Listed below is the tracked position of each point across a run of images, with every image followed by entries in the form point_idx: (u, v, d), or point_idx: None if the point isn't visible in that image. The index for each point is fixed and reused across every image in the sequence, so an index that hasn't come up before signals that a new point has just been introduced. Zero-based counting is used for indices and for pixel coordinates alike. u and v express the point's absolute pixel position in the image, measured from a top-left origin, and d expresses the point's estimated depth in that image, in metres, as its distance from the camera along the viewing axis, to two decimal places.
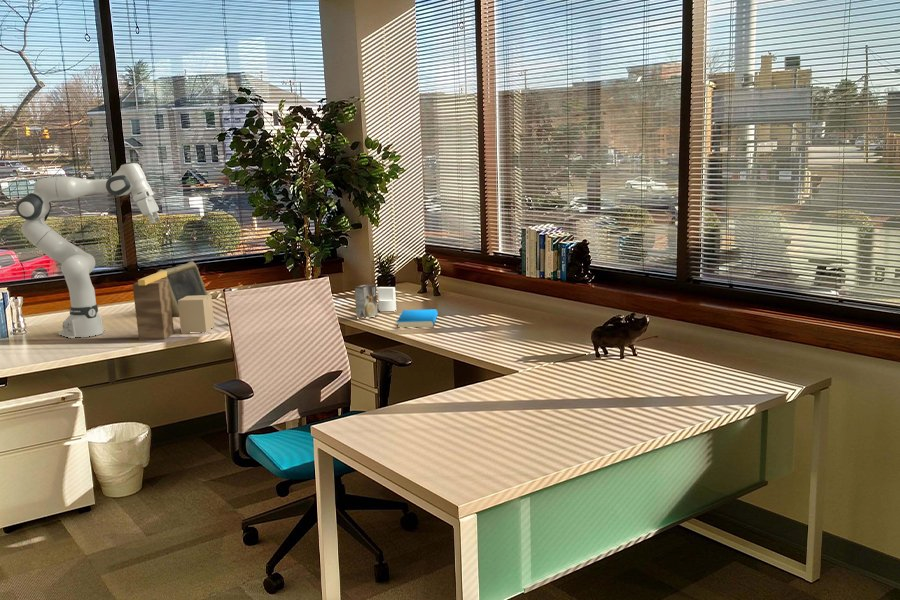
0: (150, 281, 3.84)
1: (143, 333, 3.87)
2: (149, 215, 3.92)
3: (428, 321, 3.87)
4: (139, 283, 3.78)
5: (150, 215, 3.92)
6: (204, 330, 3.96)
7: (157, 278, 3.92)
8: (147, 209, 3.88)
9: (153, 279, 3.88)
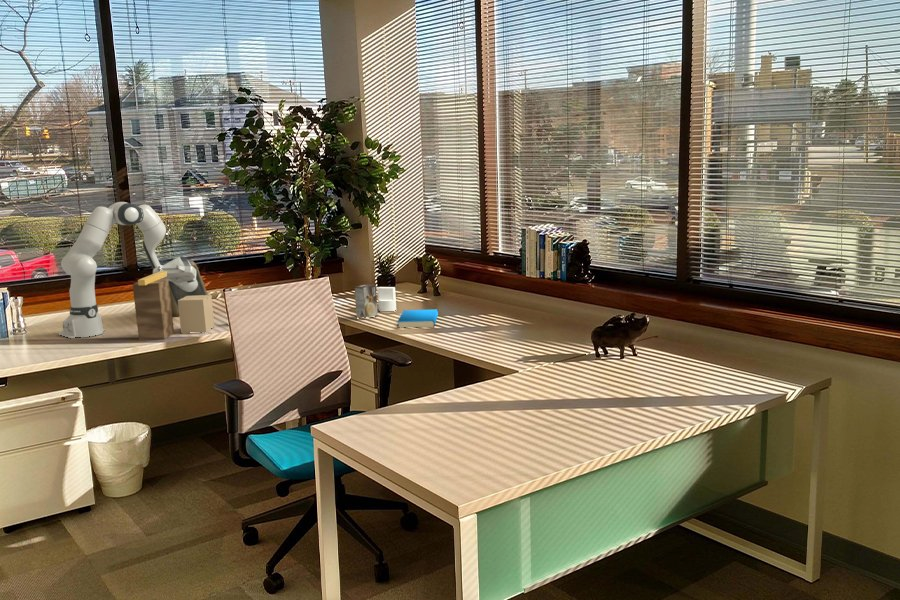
0: (150, 281, 3.84)
1: (143, 333, 3.87)
2: (184, 269, 4.11)
3: (429, 321, 3.87)
4: (139, 283, 3.78)
5: (184, 269, 4.11)
6: (204, 330, 3.96)
7: (157, 278, 3.92)
8: (193, 272, 4.14)
9: (153, 279, 3.88)
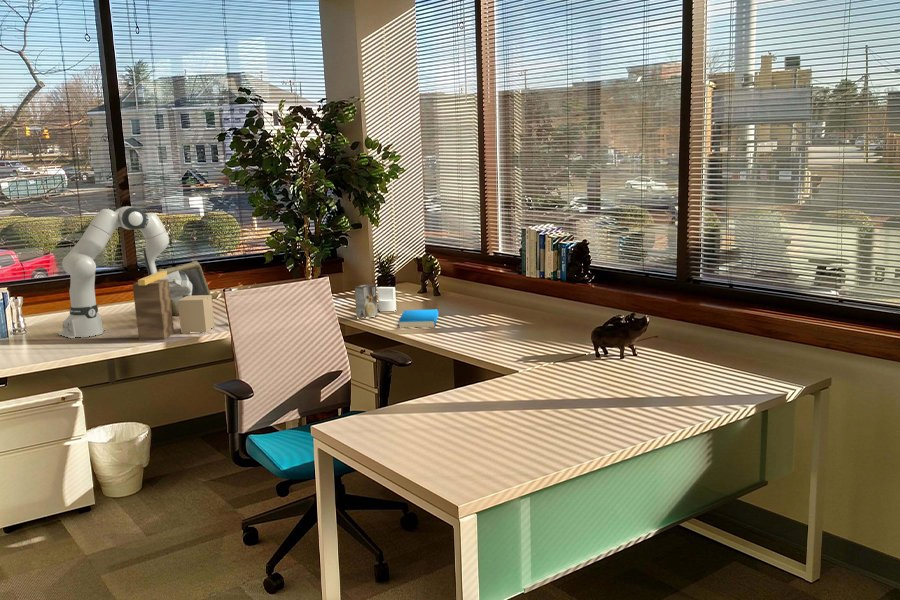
0: (150, 281, 3.84)
1: (143, 333, 3.87)
2: (180, 283, 4.08)
3: (429, 321, 3.87)
4: (139, 283, 3.78)
5: (180, 283, 4.07)
6: (204, 330, 3.96)
7: (157, 278, 3.92)
8: (189, 287, 4.10)
9: (153, 279, 3.88)
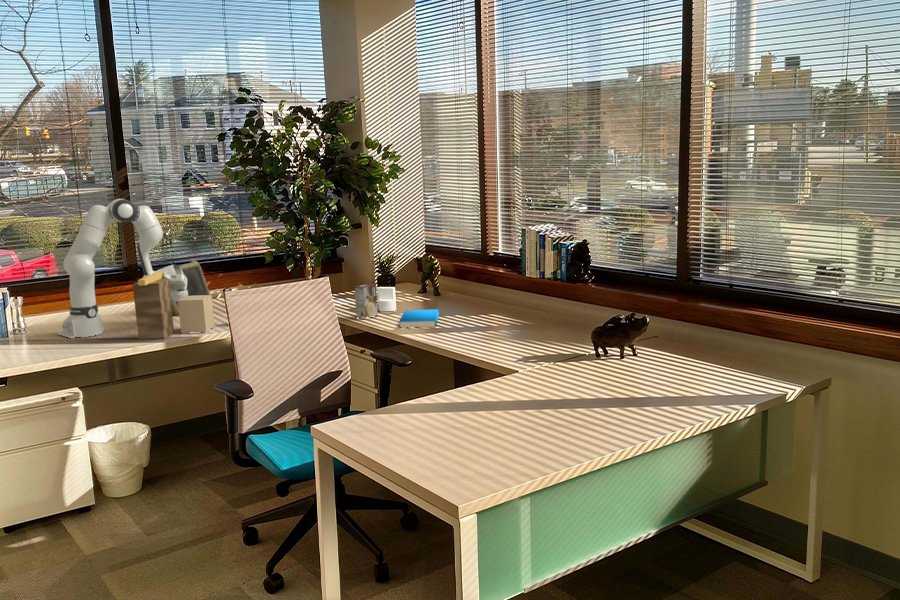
0: (150, 281, 3.84)
1: (143, 333, 3.87)
2: (170, 277, 4.01)
3: (430, 321, 3.87)
4: (139, 283, 3.78)
5: (169, 278, 4.01)
6: (204, 330, 3.96)
7: (157, 278, 3.92)
8: (184, 281, 4.03)
9: (153, 279, 3.88)
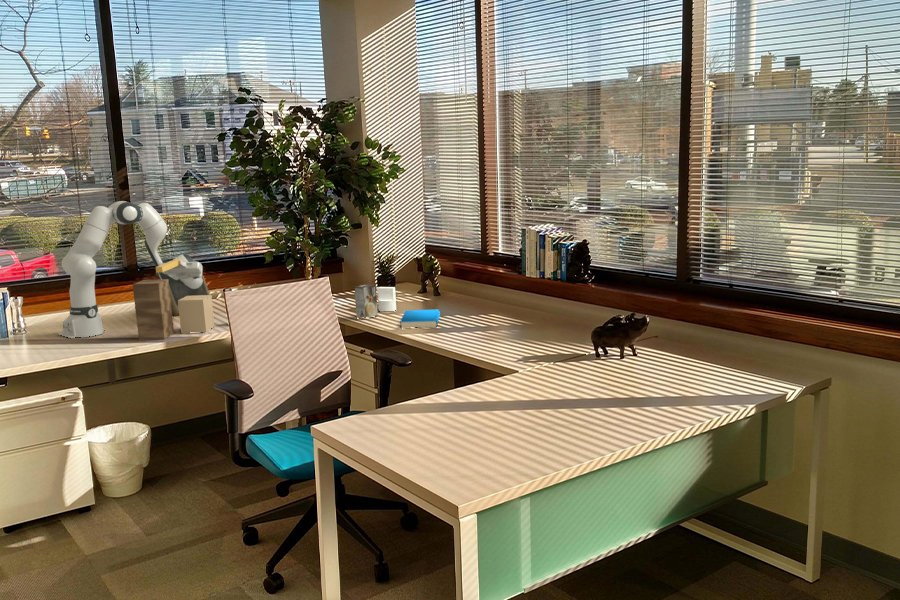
0: (167, 268, 3.93)
1: (143, 333, 3.87)
2: (185, 264, 4.10)
3: (431, 321, 3.86)
4: (157, 270, 3.87)
5: (185, 265, 4.10)
6: (204, 330, 3.96)
7: (174, 265, 4.01)
8: (199, 268, 4.12)
9: (170, 266, 3.97)
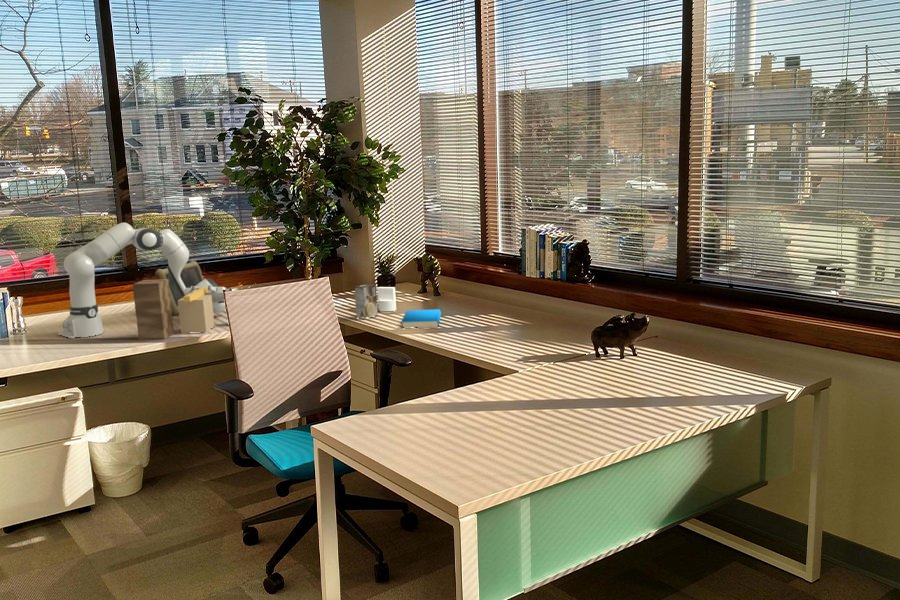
0: (194, 297, 3.95)
1: (143, 333, 3.87)
2: (215, 289, 4.11)
3: (433, 321, 3.86)
4: (184, 300, 3.89)
5: (215, 290, 4.11)
6: (204, 330, 3.96)
7: (200, 294, 4.03)
8: None
9: (197, 295, 3.98)
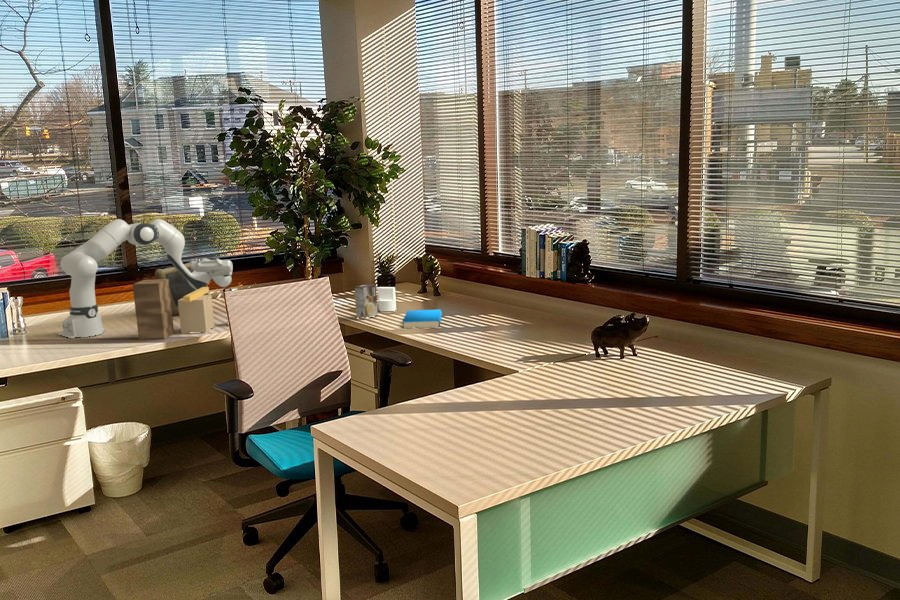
0: (194, 297, 3.95)
1: (143, 333, 3.87)
2: (222, 262, 4.21)
3: (434, 321, 3.86)
4: (184, 300, 3.89)
5: (221, 263, 4.20)
6: (204, 330, 3.96)
7: (200, 294, 4.03)
8: (230, 266, 4.23)
9: (197, 295, 3.98)
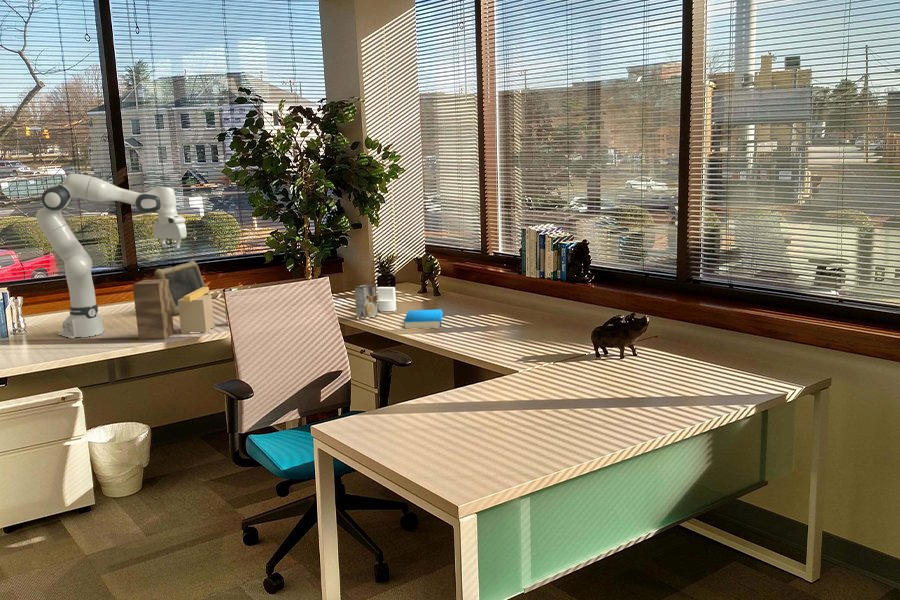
0: (194, 297, 3.95)
1: (143, 333, 3.87)
2: (179, 239, 4.01)
3: (435, 321, 3.86)
4: (184, 300, 3.89)
5: (180, 240, 4.01)
6: (204, 330, 3.96)
7: (200, 294, 4.03)
8: (185, 233, 4.00)
9: (197, 295, 3.98)
